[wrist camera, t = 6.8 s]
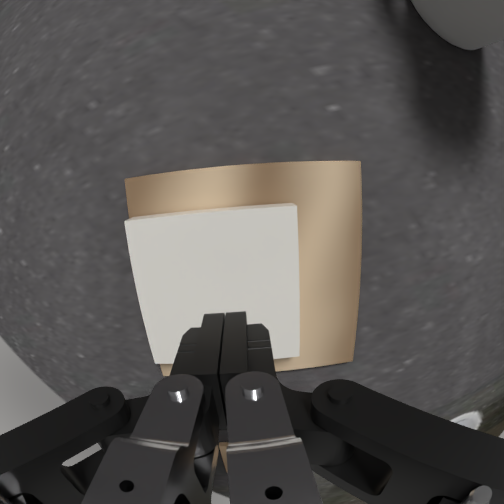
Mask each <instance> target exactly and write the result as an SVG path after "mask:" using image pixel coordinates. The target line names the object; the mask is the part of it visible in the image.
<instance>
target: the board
mask: <svg viewBox="0 0 504 504" xmlns="http://www.w3.org/2000/svg"><path fill="white" fill-rule="evenodd" d="M125 187H126V196H127V205H128V213H129V219H130V218H132V217H138V216H147V215H156V214H165V213H174V212H184V211H194V210H204V209H215V208H227V207H239V206H252V205H267V204H282V203H293V204H295V205H297V218H298V246H299V290H300V356H298V357H289V358H280V359H274V365H275V371H286V370H295V369H303V368H311V367H318V366H325V365H332V364H338V363H344V362H350V361H353V353H354V345H355V337H356V327H357V317H358V305H359V291H360V275H361V251H362V185H361V161H304V162H278V163H260V164H246V165H233V166H221V167H211V168H201V169H192V170H183V171H175V172H168V173H160V174H153V175H146V176H140V177H133V178H127V179H125ZM160 366H161V370H162V373H163V376H169V375H170V372H171V369H172V366H173V364H160Z"/></svg>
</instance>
